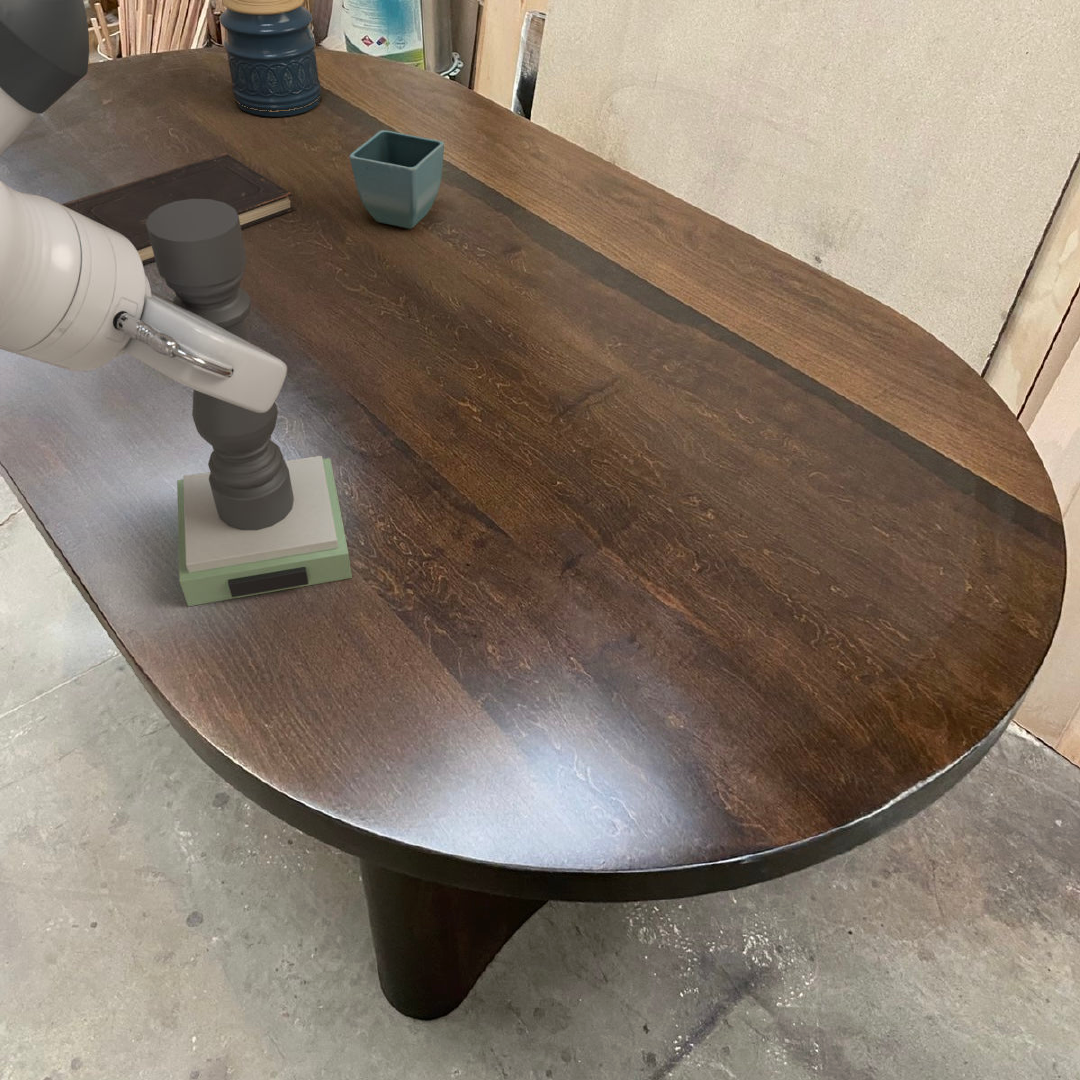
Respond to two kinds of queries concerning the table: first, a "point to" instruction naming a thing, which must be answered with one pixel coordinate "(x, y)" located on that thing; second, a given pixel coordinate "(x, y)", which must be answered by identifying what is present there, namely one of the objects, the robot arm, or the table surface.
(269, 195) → the hardcover book
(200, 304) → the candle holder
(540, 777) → the table surface
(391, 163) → the flower pot
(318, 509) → the scale
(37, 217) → the robot arm
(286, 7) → the canister
